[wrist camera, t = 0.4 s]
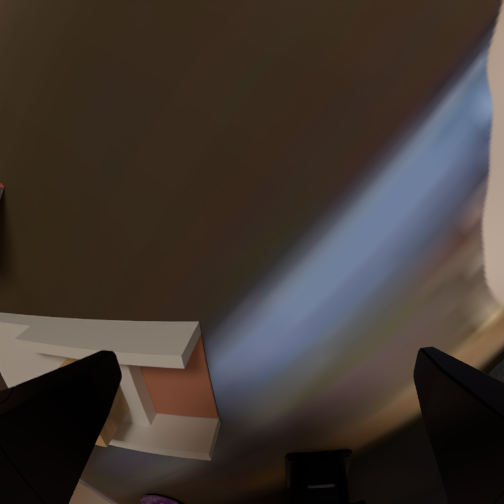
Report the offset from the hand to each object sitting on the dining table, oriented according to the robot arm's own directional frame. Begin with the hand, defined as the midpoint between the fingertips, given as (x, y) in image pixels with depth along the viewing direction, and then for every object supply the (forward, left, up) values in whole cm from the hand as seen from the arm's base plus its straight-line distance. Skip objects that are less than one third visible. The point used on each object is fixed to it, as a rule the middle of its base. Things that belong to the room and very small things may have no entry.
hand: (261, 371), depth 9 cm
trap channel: (-11, +19, -13) cm, 26 cm away
